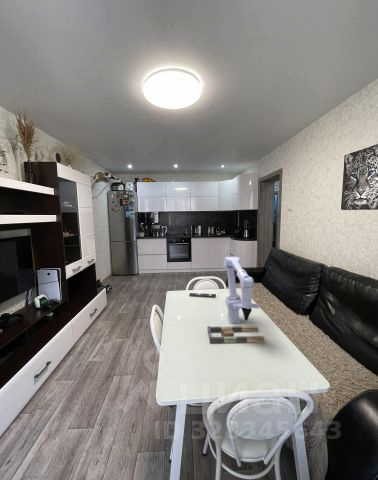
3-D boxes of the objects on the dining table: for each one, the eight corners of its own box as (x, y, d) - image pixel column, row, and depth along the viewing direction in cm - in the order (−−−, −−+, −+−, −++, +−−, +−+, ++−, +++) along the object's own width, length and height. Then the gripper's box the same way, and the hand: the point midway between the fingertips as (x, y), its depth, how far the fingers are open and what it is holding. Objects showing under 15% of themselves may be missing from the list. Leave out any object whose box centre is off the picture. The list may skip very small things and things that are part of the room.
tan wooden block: (221, 334, 130) (221, 327, 129) (230, 333, 131) (230, 326, 130) (223, 340, 124) (223, 333, 123) (233, 339, 125) (233, 332, 124)
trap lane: (207, 330, 134) (207, 326, 134) (256, 329, 135) (256, 325, 134) (209, 343, 121) (209, 338, 121) (264, 342, 122) (264, 337, 121)
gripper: (235, 300, 121) (235, 323, 123) (261, 300, 121) (260, 322, 123) (233, 295, 128) (232, 317, 130) (257, 295, 128) (256, 316, 130)
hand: (245, 319), depth 127 cm, fingers closed
